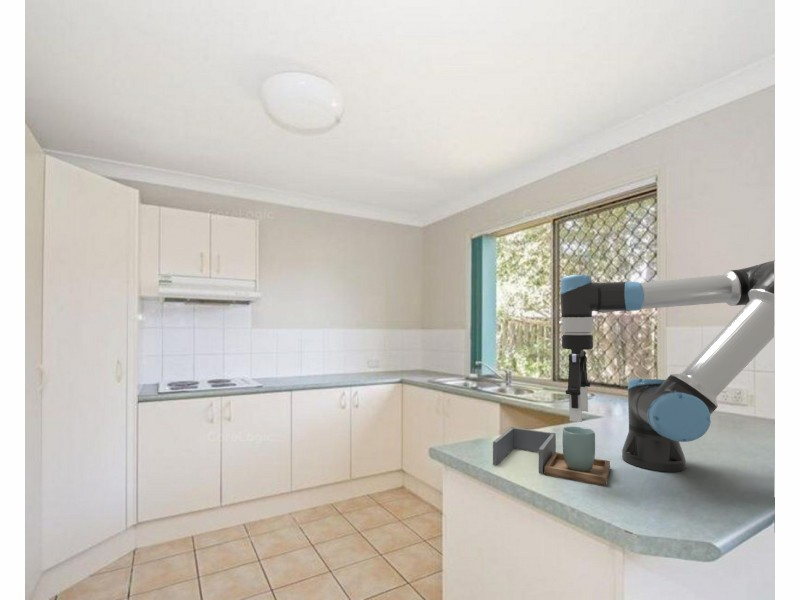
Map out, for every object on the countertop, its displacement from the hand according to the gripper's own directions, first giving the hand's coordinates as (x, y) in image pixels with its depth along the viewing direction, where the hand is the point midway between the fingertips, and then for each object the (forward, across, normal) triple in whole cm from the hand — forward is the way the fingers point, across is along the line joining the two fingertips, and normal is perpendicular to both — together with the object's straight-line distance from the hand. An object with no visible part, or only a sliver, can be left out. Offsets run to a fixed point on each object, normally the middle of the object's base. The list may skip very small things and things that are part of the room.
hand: (579, 416), depth 109 cm
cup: (+14, 0, 0) cm, 14 cm away
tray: (+14, 0, -1) cm, 14 cm away
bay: (+14, -2, -15) cm, 20 cm away
